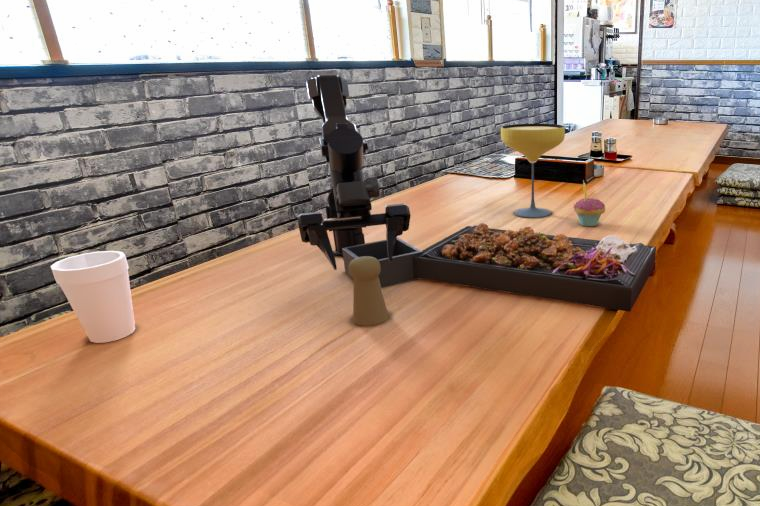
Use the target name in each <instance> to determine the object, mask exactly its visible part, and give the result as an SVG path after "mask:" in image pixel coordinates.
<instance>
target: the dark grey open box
mask: <svg viewBox="0 0 760 506" xmlns="http://www.w3.org/2000/svg"><path fill="white" fill-rule="evenodd" d="M342 252H343V256H342V258H343V266H344V273H345V274H346V275H347V276H348V277H349V278H351V280H353V281H354V279H353V278H352V277H351V276H350V273H349V264H350V262H351V261H352V260H353V259H355V258H358V257H363V256H370V257H374V258H376V259H377V260H378V261H379V263H380V267H381V271H380V274H379V276H378V277H379V281H380V285H381V288H384V287H389V286H393V285H398V284H401V283H406V282H410V281H414V280H418V279H419V278H414V274H413V263H412V257H413V256H417V257H420V255H422V254H423V251H422V250H421V249H419V248H418V247H416V246H414V245H413V244H410V242H407V241H405V240H403V239H402V238H400V237H399V236H397V238H396V241H395V244H394V249H393V256H392V262H391V263H389V259H388V253H387V239H386V238H385V239H382V240H377V241H372V242H365V244H361V245H355V246H350V247H345V248H342Z"/></svg>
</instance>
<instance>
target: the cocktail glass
mask: <svg viewBox="0 0 760 506" xmlns="http://www.w3.org/2000/svg"><path fill="white" fill-rule="evenodd" d="M565 136H566V128H565V126H564V125H562V124H554V123H516V124H515V123H514V124H507V125H506V124H505V125H503V126H501V128H500V139H501V142H502V143H504V145H505V146H506V147H508V148H510V149H512V150H514V151H515V152H517V153H519V154H521V155H523V156H524V158H526V160H527V161H528V162H529V163H530V164H531V196H530V197H531V199H530V206H529V207H524V208H520V209H517V210H515V211H514V214H515V216H517V217H520V218H526V219H536V218H545V217H548V216H550V215H551V214H552V211H551V210H549V209H547V208H540V207H536V203H535V176H534V175H535V163H537V162H538V161H539V160H540V158H541V157H542V156H543V155H544V154H546V153H548V152H549V151H551V150H553V149H555V148H557V147H558V146H560V145H561V144H562V142H563V141H564V140H565Z"/></svg>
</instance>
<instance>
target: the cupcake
mask: <svg viewBox="0 0 760 506" xmlns="http://www.w3.org/2000/svg"><path fill="white" fill-rule="evenodd" d="M582 189H583V196H584V198H581V199H579V200H577V201H576V202H575V203H574V205H573V211H574V212H575V213H576V215H577V218H578V221H579V224H580V225H581V226H583V227H596V226H597V225H598V224H599V221H600V218H601V216H602V214H604V213H605V212H606V205H605V203H604V202H603V201H601V200H600V199H597V198H592V197H591V198H589V197H588V193H587V185H586V182H585V180H584V179H582Z"/></svg>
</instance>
